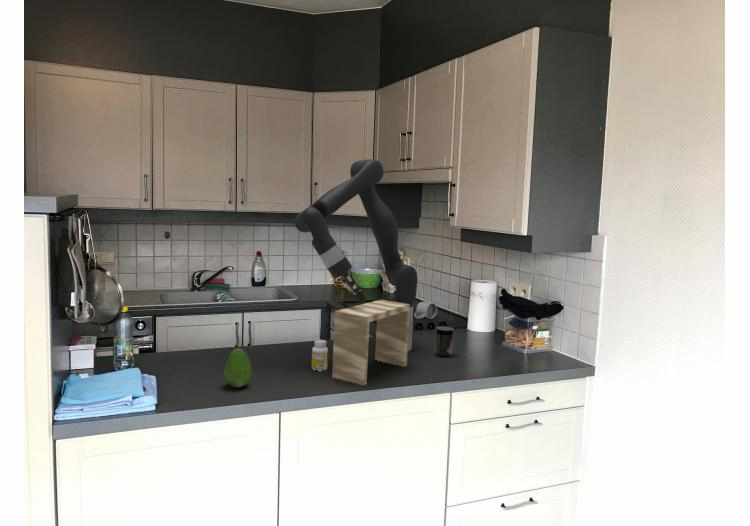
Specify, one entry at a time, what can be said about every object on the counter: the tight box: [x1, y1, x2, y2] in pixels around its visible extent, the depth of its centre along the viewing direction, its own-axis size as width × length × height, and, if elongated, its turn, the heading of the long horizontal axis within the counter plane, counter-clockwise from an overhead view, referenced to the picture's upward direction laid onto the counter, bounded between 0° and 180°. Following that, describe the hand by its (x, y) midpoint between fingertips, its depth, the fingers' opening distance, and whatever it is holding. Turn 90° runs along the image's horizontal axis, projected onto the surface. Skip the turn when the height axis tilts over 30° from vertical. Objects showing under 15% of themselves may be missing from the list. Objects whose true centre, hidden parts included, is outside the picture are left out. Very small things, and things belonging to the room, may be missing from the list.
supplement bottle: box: [311, 339, 329, 372], centre depth 201 cm, size 5×5×10 cm
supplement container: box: [434, 325, 455, 358], centre depth 224 cm, size 7×7×10 cm
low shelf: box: [331, 299, 410, 387], centre depth 199 cm, size 28×12×22 cm, turn 148°
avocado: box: [224, 347, 252, 389], centre depth 179 cm, size 8×8×12 cm
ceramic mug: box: [413, 301, 438, 320], centre depth 291 cm, size 11×8×8 cm
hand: (362, 301), depth 201 cm, fingers open, 8 cm apart
